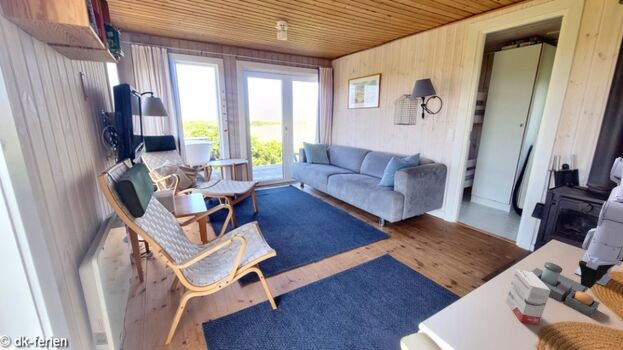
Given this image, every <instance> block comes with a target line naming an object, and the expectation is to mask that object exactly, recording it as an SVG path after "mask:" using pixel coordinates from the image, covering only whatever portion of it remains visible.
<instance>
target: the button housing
mask: <svg viewBox="0 0 623 350" xmlns="http://www.w3.org/2000/svg"><path fill="white" fill-rule="evenodd" d="M575 294H576V291H574V290H573V291H572V290H571V291H570V292H569V293H568V294H567V295H566V296H565V297H566V298H565V300H564V305H567V306H569V307H571V308H572V309H574V310H576V311H578V312H581V313H583V314H584V315H586V316H588V317H590V318H591V317H592V316H593V315H594V313H595V312H596V311H597V309H598V308H599V306H600V302H599V301H597V300H595V299H594V300H593V302H592V304H591V307H589V306H587V305H585V304H583V303H581V302H579V301H577V300H575V299H574V296H575Z"/></svg>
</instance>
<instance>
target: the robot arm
mask: <svg viewBox="0 0 623 350" xmlns="http://www.w3.org/2000/svg"><path fill="white" fill-rule="evenodd" d="M609 177H610V181H612V182H614V183H616V185H617V186H615V187H614V188H612V190H611V192H610V194H609V197H608V199H607V200H606V201H604V203H603V204H602V207H601V209H600V212H599V216H598V221H597V226H596V228H591V229H590V230H588V232H587V234H586V236H585V238H584V239H583V240H584V241H583V243H582V245H581V247H582V249H583V250H585V251H584V252H585V253H584V255H583V258H582V260H579V262H578V266H579V267H578V268H577V269H576V270H574V271H573V273H574V274H576V275H578V276H580V284H581V285H582V286H585V287H586V288H587V289H589V290H590V289H592V288H593V287H595V284H599V285H601V286H603V285H604V286H606V285H607V283H608V282H609V281H610V280H611V279H612V276H610V273H611V271H612V269H613V267H614V266H618V267H620V266H622V264H623V262H622V260H623V158H622V156H621V157H620V156H619V157H618V158H617V157H616V158H615V161H614V163H613V165H612V168H611V170H610V175H609ZM604 286H603V287H604Z"/></svg>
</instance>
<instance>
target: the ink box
mask: <svg viewBox="0 0 623 350" xmlns="http://www.w3.org/2000/svg"><path fill="white" fill-rule="evenodd" d="M550 291H551V290H550V289H549V288H548V287H547V286H546V285H545V284H544V283H543V282H542V281H541V280H540V279H539V278H538V277H537V276H536V275H535V274H534V273H533V272H531V271H529V270H522V269H519V268H518V269H517V268H516V269H514V273H513V275H512V279H511V282H510V286H509V289H508V291H507V295H506V299H505V302H506V304H507V305H508V306H509V308H510V309H511V310H512V312H513V313H514V315H515V316H516V317H517V319H518V321H519V322H521V323H525V324H530V325H538V326H539V324H540V322H541V320H542V317H543V314H544V313H543V312H544V311H545V307H546V306H547V302H548V299H549V297H550V296H549V294H550Z"/></svg>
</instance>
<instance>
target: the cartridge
mask: <svg viewBox="0 0 623 350" xmlns="http://www.w3.org/2000/svg"><path fill="white" fill-rule="evenodd" d="M562 272H563V268H562V266H560V265H558V264H556V263H553V262H545V263H544V267H543V273H542V276H541V279H540V280H541V281H543V282H545V283H547V284H549V285H552V286H554V287H555V286H556V283H557V281H558V278H559V275H561V273H562Z"/></svg>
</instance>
